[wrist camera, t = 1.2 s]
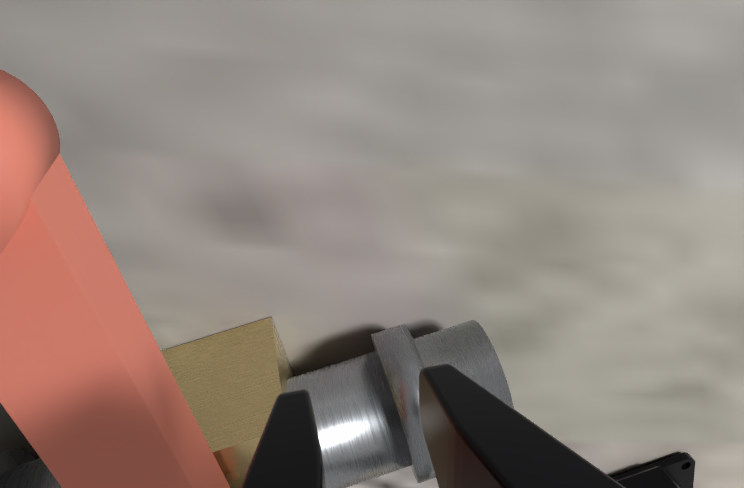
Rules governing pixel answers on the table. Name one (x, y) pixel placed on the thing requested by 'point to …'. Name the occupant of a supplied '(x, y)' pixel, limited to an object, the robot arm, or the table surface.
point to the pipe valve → (328, 396)
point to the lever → (80, 330)
